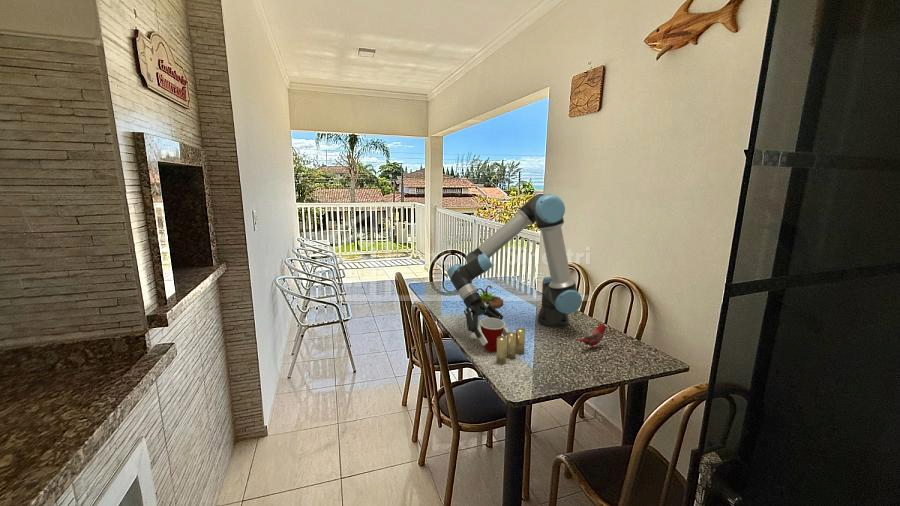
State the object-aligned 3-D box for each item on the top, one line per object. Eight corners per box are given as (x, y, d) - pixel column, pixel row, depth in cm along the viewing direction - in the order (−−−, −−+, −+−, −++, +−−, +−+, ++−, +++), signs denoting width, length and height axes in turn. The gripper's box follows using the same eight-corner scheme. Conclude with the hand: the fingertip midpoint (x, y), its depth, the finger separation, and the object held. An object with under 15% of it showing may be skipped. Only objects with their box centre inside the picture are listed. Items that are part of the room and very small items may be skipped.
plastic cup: (488, 357, 147) (488, 328, 144) (473, 347, 156) (474, 320, 154) (510, 351, 152) (510, 324, 149) (495, 342, 161) (495, 315, 159)
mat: (508, 328, 177) (508, 327, 177) (505, 341, 161) (505, 340, 161) (475, 325, 180) (475, 324, 180) (469, 338, 165) (469, 337, 165)
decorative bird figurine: (607, 346, 156) (609, 324, 154) (577, 355, 148) (579, 331, 146) (602, 343, 159) (603, 321, 157) (572, 352, 150) (573, 329, 149)
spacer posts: (526, 352, 150) (527, 329, 149) (501, 365, 140) (502, 340, 138) (519, 349, 153) (519, 327, 151) (494, 362, 143) (494, 337, 141)
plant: (505, 310, 203) (505, 290, 201) (470, 309, 204) (470, 290, 202) (501, 299, 223) (502, 281, 221) (469, 299, 224) (469, 281, 222)
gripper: (484, 295, 170) (509, 335, 162) (445, 307, 154) (470, 352, 145) (493, 286, 165) (520, 327, 157) (453, 297, 149) (480, 344, 141)
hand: (496, 339), depth 151 cm, fingers open, 12 cm apart
